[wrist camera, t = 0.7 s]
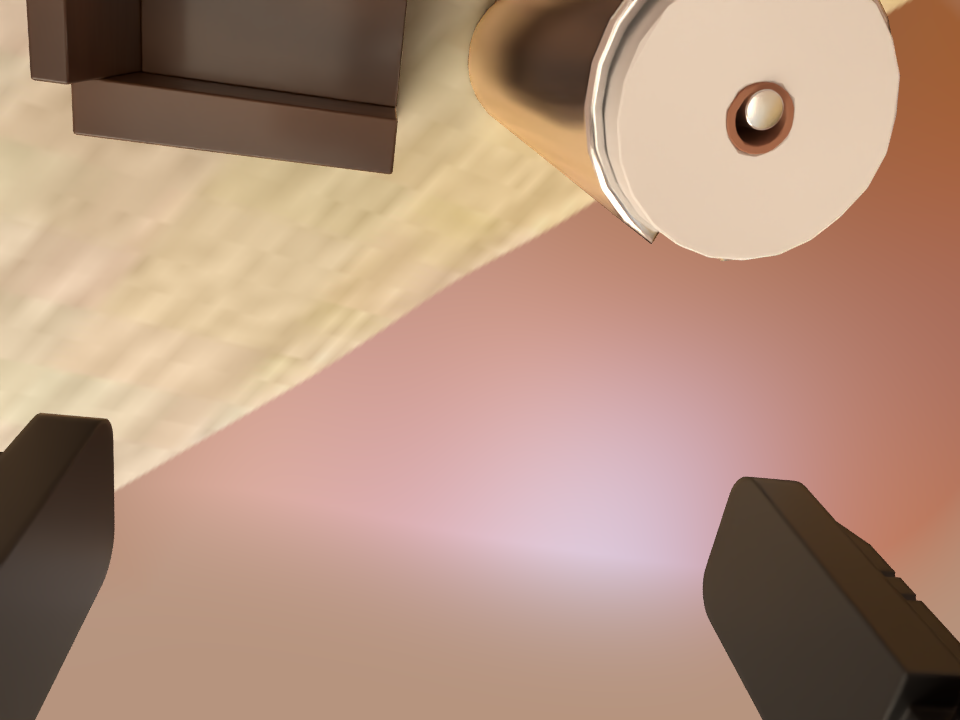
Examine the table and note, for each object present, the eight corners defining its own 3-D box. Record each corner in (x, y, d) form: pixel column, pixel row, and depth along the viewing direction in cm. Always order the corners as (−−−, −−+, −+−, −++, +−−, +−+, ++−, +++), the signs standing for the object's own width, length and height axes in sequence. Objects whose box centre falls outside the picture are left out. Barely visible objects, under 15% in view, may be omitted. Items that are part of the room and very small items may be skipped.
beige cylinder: (629, 61, 39) (991, 106, 16) (533, 160, 40) (736, 337, 17) (537, -46, 36) (801, -178, 13) (439, 62, 38) (524, 113, 15)
